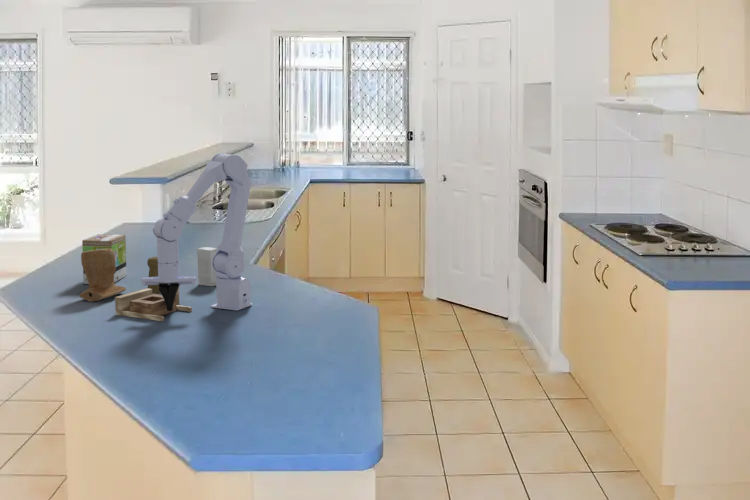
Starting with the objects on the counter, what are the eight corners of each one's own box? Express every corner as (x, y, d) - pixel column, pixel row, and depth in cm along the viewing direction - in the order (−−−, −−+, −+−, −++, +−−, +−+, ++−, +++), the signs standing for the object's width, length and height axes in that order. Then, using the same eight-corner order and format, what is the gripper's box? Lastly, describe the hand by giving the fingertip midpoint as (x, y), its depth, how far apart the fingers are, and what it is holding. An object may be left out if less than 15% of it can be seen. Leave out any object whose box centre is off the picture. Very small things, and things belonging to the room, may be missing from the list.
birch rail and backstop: (192, 311, 236) (191, 293, 235) (161, 321, 224) (161, 303, 223) (147, 305, 243) (146, 288, 242) (115, 314, 231) (114, 297, 230)
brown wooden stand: (97, 291, 261) (95, 244, 259) (131, 293, 258) (129, 245, 256) (68, 301, 247) (65, 251, 244) (103, 304, 244) (100, 253, 241)
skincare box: (220, 284, 272) (219, 248, 270) (211, 286, 268) (210, 250, 266) (206, 282, 275) (205, 246, 273) (197, 284, 271) (196, 248, 269)
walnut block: (176, 310, 236) (176, 296, 236) (152, 318, 227) (152, 304, 227) (154, 307, 240) (153, 293, 239) (130, 315, 231) (129, 301, 230)
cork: (159, 288, 265) (157, 254, 263) (171, 291, 261) (169, 256, 259) (143, 291, 260) (141, 257, 258) (154, 294, 257) (153, 259, 255)
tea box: (113, 285, 270) (111, 240, 268) (82, 284, 270) (80, 240, 268) (127, 276, 285) (125, 233, 283) (98, 275, 285) (96, 233, 283)
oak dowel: (181, 303, 244) (181, 280, 243) (174, 306, 241) (173, 282, 240) (172, 302, 246) (171, 279, 245) (165, 305, 243) (164, 281, 242)
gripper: (196, 259, 233) (198, 306, 235) (143, 259, 232) (145, 307, 234) (194, 263, 226) (195, 312, 229) (139, 264, 225) (141, 313, 227)
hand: (170, 310), depth 231 cm, fingers closed
